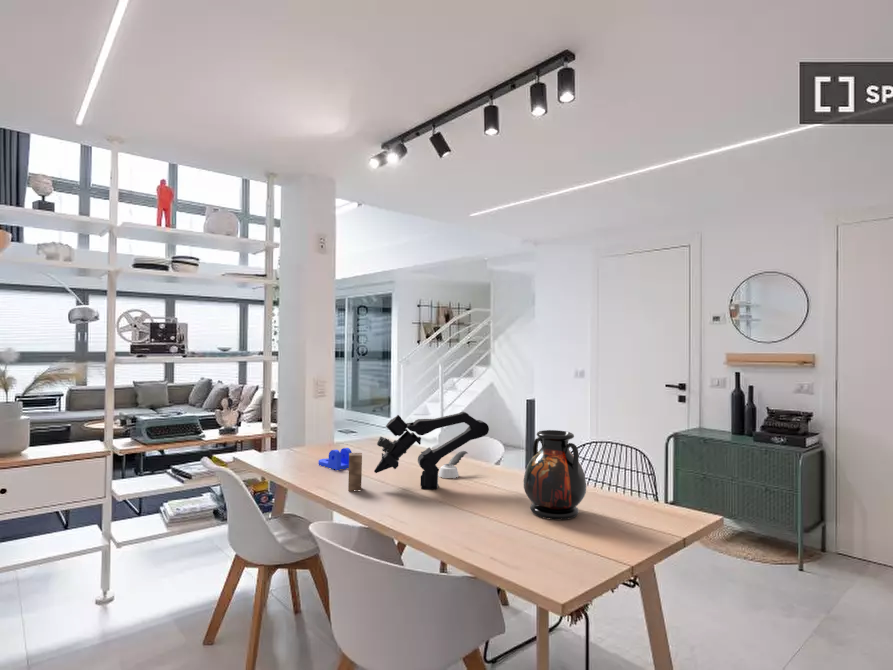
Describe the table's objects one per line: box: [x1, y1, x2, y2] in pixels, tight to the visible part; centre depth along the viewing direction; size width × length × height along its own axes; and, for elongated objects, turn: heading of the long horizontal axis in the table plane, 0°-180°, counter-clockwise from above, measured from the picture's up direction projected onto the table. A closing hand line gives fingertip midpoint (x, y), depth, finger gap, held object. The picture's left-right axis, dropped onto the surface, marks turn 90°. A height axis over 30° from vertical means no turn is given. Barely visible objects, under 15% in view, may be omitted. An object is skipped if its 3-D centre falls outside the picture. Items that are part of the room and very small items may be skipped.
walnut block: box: [347, 452, 363, 492], centre depth 207 cm, size 5×5×14 cm
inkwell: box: [438, 450, 468, 479], centre depth 234 cm, size 9×18×10 cm, turn 141°
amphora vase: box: [522, 429, 587, 520], centre depth 182 cm, size 22×22×28 cm
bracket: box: [317, 447, 353, 471], centre depth 247 cm, size 18×8×9 cm, turn 47°
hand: (374, 472), depth 208 cm, fingers closed
